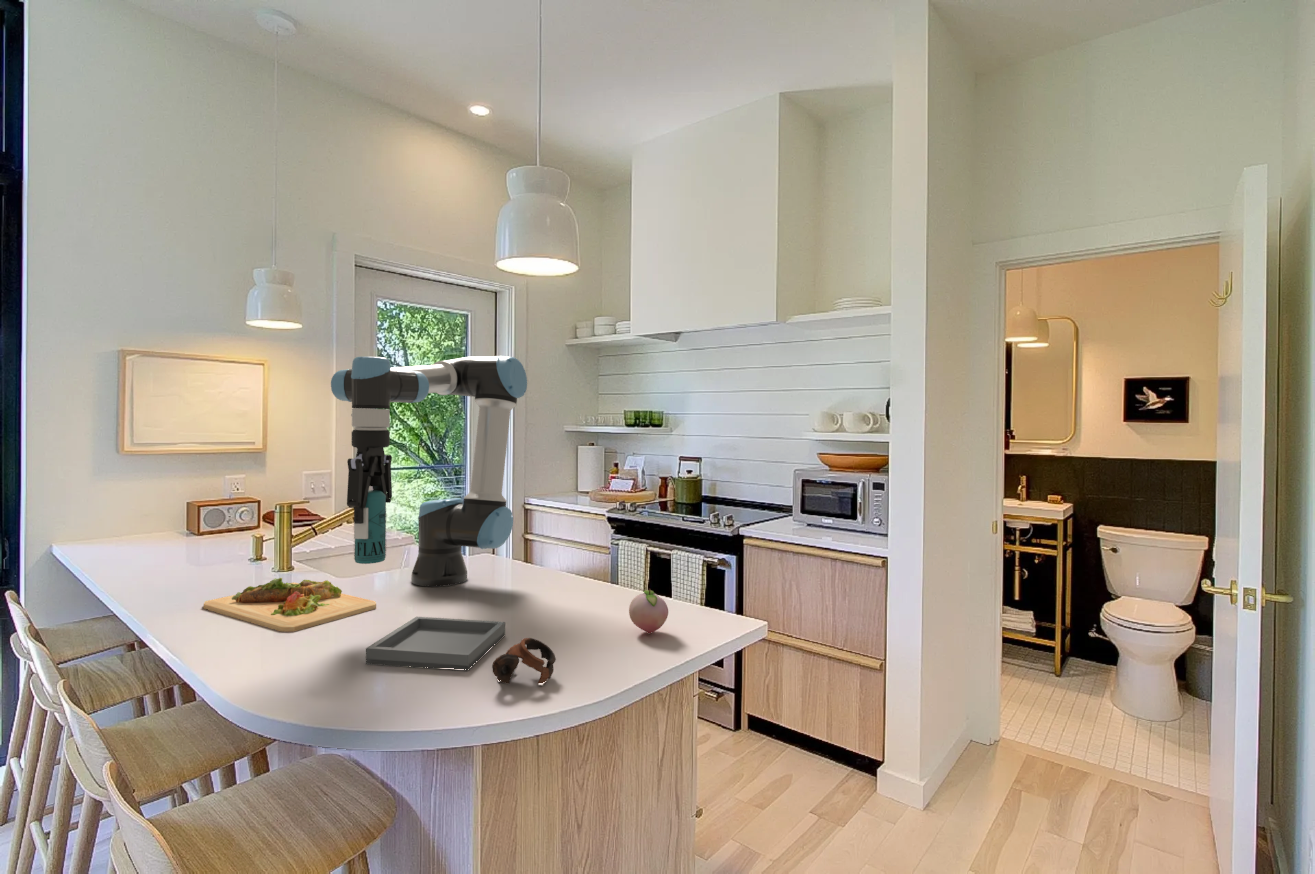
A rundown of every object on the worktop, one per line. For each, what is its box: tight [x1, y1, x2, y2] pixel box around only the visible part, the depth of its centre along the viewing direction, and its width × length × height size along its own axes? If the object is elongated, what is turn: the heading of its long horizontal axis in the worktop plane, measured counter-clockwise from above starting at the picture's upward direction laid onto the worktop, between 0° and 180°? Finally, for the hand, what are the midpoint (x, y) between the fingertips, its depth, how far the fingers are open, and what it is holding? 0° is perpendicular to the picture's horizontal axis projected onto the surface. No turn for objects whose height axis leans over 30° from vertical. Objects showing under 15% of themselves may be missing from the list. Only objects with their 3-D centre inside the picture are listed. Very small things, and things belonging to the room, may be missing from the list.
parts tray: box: [365, 616, 506, 670], centre depth 131 cm, size 20×20×3 cm
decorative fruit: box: [628, 588, 669, 634], centre depth 144 cm, size 9×8×10 cm
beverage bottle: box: [353, 475, 387, 565], centre depth 141 cm, size 6×7×20 cm
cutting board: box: [203, 577, 377, 633], centre depth 157 cm, size 35×23×8 cm
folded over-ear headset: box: [491, 637, 557, 685], centre depth 116 cm, size 12×10×8 cm
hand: (370, 535), depth 141 cm, fingers closed on beverage bottle, 6 cm apart
